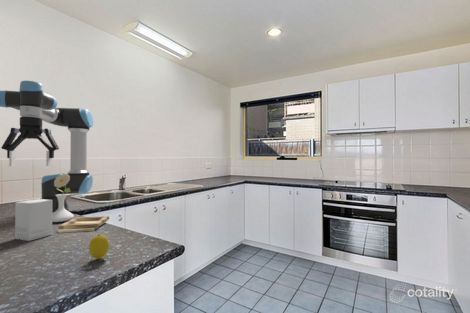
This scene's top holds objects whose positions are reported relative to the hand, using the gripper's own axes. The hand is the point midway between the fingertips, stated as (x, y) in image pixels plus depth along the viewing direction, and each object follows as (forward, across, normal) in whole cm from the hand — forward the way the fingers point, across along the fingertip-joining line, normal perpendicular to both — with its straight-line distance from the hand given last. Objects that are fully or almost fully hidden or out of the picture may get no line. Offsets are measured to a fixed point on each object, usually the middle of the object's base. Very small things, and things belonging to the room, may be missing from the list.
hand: (31, 166), depth 104 cm
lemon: (+29, +38, -38) cm, 61 cm away
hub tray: (+29, +19, +7) cm, 36 cm away
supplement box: (+29, +4, -6) cm, 30 cm away
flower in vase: (+30, +4, +20) cm, 36 cm away
